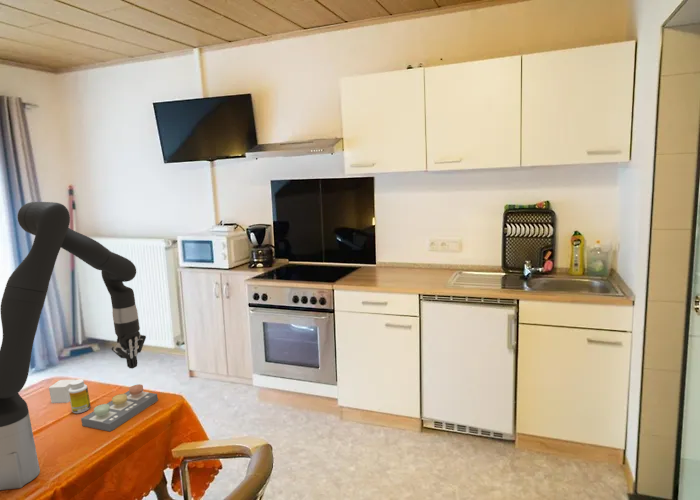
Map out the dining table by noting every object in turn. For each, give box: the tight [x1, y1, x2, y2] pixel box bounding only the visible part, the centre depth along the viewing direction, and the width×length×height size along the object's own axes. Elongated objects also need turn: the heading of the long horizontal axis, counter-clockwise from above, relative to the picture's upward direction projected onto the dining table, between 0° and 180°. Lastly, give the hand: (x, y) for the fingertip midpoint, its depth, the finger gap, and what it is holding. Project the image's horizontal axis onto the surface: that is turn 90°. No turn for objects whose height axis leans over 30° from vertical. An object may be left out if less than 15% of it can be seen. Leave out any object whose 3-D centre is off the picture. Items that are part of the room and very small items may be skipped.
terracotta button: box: [128, 384, 144, 395], centre depth 161 cm, size 4×4×2 cm
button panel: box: [80, 390, 159, 433], centre depth 156 cm, size 20×12×3 cm, turn 159°
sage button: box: [93, 403, 110, 416], centre depth 149 cm, size 4×4×2 cm
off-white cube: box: [48, 379, 77, 404], centre depth 168 cm, size 6×6×6 cm
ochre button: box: [111, 393, 127, 405], centre depth 155 cm, size 4×4×2 cm
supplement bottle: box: [69, 378, 91, 414], centre depth 158 cm, size 6×6×10 cm
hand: (132, 367), depth 160 cm, fingers closed
